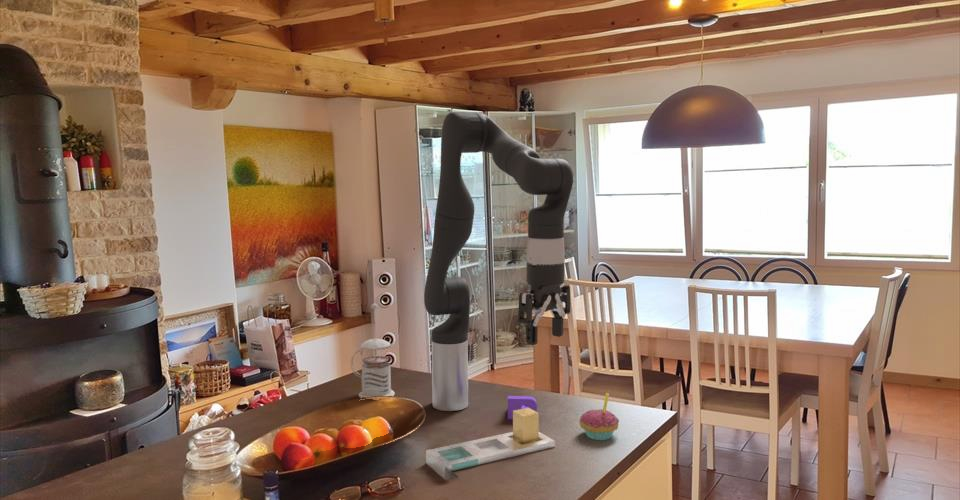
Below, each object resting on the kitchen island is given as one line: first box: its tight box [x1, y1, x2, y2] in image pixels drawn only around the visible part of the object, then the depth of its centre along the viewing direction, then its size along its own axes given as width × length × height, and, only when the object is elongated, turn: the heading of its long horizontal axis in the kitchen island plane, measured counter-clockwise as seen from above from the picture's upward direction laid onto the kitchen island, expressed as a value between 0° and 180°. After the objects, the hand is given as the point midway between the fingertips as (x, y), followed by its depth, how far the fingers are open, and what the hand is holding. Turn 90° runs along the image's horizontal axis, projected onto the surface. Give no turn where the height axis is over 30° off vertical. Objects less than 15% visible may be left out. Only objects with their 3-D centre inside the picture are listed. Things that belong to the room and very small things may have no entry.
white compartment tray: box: [425, 431, 556, 480], centre depth 145 cm, size 9×26×3 cm, turn 118°
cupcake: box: [579, 390, 620, 441], centre depth 153 cm, size 9×8×12 cm
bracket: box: [507, 395, 538, 420], centre depth 170 cm, size 12×7×7 cm, turn 176°
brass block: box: [512, 408, 540, 445], centre depth 149 cm, size 4×4×7 cm
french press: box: [350, 303, 396, 399], centre depth 187 cm, size 10×12×25 cm
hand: (544, 340), depth 139 cm, fingers open, 8 cm apart
